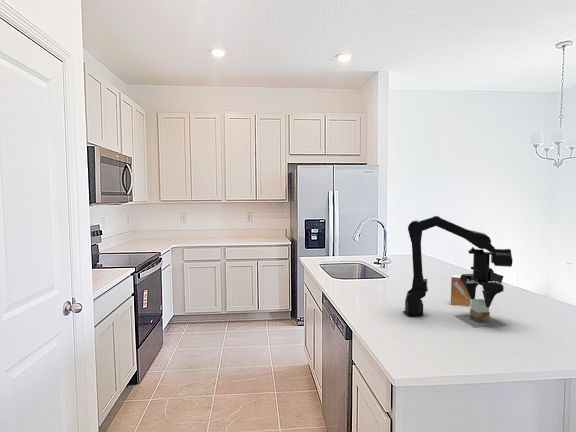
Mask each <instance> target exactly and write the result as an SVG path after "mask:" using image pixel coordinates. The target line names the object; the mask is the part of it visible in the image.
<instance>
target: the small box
mask: <svg viewBox="0 0 576 432" xmlns="http://www.w3.org/2000/svg"><path fill="white" fill-rule="evenodd" d="M461 275H462V274H452V275H451V281H450V283H451V284H450V305H453V306H463V307H464V306H465V307H471V298H470V296H469V294H468V292H467V290H466V288H465V286H464V284H463V283H462V281H460V276H461Z"/></svg>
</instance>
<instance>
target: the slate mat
mask: <svg viewBox="0 0 576 432" xmlns="http://www.w3.org/2000/svg"><path fill="white" fill-rule="evenodd" d="M453 317H455V318H457V319H458V320H460V321H462V322H464V323H465V324H467V325H469V326H471V327H472V328H474V329H475V328H479V329H480V328H493V327H494V328H495V327H496V328H497V327H508V326H509V325H508V324H506V323H504V322H502V321H500V320H498V319H495V318H493V317H492V316H490V322H484V323H477V322H475V321H473V320H472V319H470V314H454V315H453Z"/></svg>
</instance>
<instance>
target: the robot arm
mask: <svg viewBox="0 0 576 432" xmlns="http://www.w3.org/2000/svg"><path fill="white" fill-rule="evenodd" d="M435 227H438V228H440V229H442V230H445V231H446V232H449V233H451V234H454V235H455V236H458V237H461V238H462V239H465V240H466V241H467V242H469V243H470V244H471V245H473V247H471V249H469V250H468V251H467V252H468V254H471V255H473V259H472V260H473V261H472V262H473V263H472V265H473V266H470V270H472V273H464V274H460V275H461V276H460V281H462V283H463V284H464V286H465V288H466V290H467V292H468V294H469V296H470V298H471V299H476V291H477V287H478V286H479V285H480V286H482V290H481V291H482V296H483V300H485V304H486V307H487V308H488V307H489V308H490V307H491V305H492V303H493V300H494V298H495V296H496V295H498V294H500V293H502V292H504V291H505V290H504V287H505V286H504V285H503V284H502V283H503V279H504V275H501V274H499V273H497V272H496V273H495V271H494V270H493V269H492V268H491V267H490V263H491V264H493V265H494V266H495V267H509V268H510V267H512V266H513V257H512V249H510V248H496V247H495V246H494V245H492V240H491V237H490V236H489V235H487V234H486V233H484V232H481V231H480V232H479V231H477V230H471V229H468V228H465V227H463V226H460V225H459V224H458V225H457V224H456V223H453V222H451V221H448V220H447V219H445V218H442V217H440V216H438V215H433V216H432V217H429V218H426V219H422V220H417V219H415V220H412V221H410V223H409V224H408V226H407V231H408V234H409V235H408V236H409V238H410V243H411V253H412V272H413V274H412V275H413V278H412V284H411V285H412V286H411V289H409V290H408V291H407V293H406V296H405V299H404V310H403V311H402V312H403V313H404V314H405V315H406V316H408V317H410V318H411V317H412V318H413V317H424V316H425V314H424V303H423V300H422V299H423V298H425V297H426V295H427V292H429V287H428V278H424V275H423V259H422V258H423V257H422V256H423V255H422V237H423V231H426V230H429V229H431V228H435ZM474 246H475V247H476V248H475V247H474ZM484 250H486V251H484Z"/></svg>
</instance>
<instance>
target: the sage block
mask: <svg viewBox="0 0 576 432" xmlns="http://www.w3.org/2000/svg"><path fill="white" fill-rule="evenodd" d="M470 309H472V310H474V311H476V312H478V313H481V312H490V307H488V308H487V307H486V304H485V300H484V298H475V299H471V304H470Z"/></svg>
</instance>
